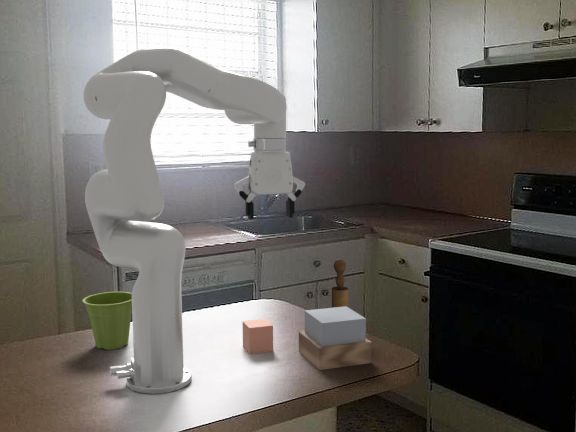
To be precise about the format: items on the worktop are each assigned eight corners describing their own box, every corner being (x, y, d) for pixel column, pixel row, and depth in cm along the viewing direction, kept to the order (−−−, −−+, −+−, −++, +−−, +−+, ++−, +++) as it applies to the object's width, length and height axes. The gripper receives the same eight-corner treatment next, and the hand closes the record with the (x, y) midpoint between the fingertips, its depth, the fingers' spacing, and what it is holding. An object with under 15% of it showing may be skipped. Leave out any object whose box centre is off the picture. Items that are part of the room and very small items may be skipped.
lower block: (319, 371, 137) (319, 348, 136) (298, 353, 148) (298, 331, 147) (371, 364, 141) (371, 341, 140) (347, 346, 152) (347, 325, 151)
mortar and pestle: (358, 332, 161) (359, 260, 159) (342, 338, 156) (342, 264, 154) (337, 326, 166) (337, 256, 163) (320, 332, 161) (320, 260, 158)
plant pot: (120, 333, 161) (118, 288, 159) (147, 345, 153) (146, 297, 151) (75, 345, 153) (72, 297, 151) (101, 357, 144) (99, 307, 143)
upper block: (321, 346, 137) (322, 323, 137) (304, 332, 147) (304, 310, 146) (365, 341, 141) (365, 318, 140) (346, 327, 150) (346, 306, 149)
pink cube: (249, 354, 146) (249, 328, 146) (242, 346, 152) (242, 321, 151) (273, 351, 148) (273, 325, 148) (265, 343, 153) (265, 318, 153)
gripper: (237, 146, 150) (238, 221, 153) (309, 146, 155) (309, 218, 158) (230, 145, 157) (231, 217, 160) (299, 145, 163) (299, 214, 165)
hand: (270, 217), depth 159 cm, fingers open, 9 cm apart
